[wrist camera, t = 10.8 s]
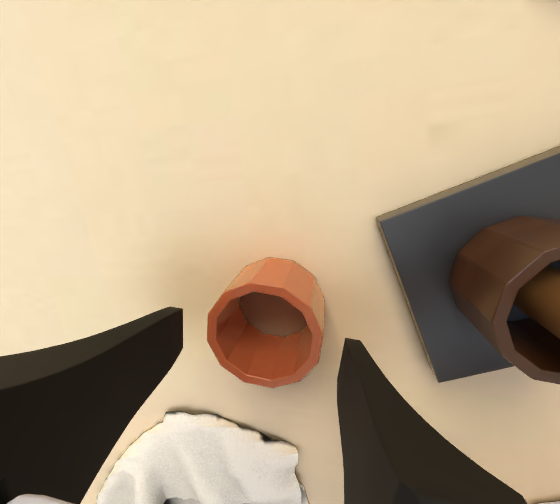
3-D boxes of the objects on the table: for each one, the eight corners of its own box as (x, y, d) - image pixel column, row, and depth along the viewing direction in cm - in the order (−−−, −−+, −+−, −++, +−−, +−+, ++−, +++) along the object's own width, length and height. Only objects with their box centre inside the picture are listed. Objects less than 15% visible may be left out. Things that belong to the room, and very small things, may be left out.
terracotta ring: (337, 327, 16) (339, 371, 12) (255, 351, 17) (237, 397, 14) (301, 244, 15) (292, 267, 11) (217, 276, 16) (187, 305, 13)
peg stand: (630, 320, 13) (940, 475, 6) (430, 367, 15) (507, 516, 9) (595, 132, 11) (970, 79, 5) (375, 217, 14) (418, 262, 7)
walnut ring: (597, 309, 12) (703, 364, 9) (468, 341, 13) (515, 400, 10) (573, 196, 11) (682, 208, 8) (435, 243, 12) (475, 272, 9)
